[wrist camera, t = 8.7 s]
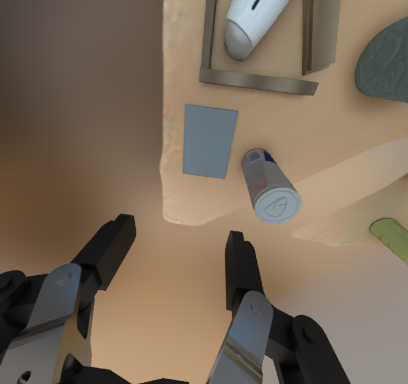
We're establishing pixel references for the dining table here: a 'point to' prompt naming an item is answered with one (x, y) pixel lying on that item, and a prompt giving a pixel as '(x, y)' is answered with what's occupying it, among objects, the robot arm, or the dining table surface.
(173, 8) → the dining table surface
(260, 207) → the beverage can
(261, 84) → the wooden tray
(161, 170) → the dining table surface
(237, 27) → the rounded white slotted gadget
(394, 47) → the teal cup
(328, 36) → the block
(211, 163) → the mat
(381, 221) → the tube
